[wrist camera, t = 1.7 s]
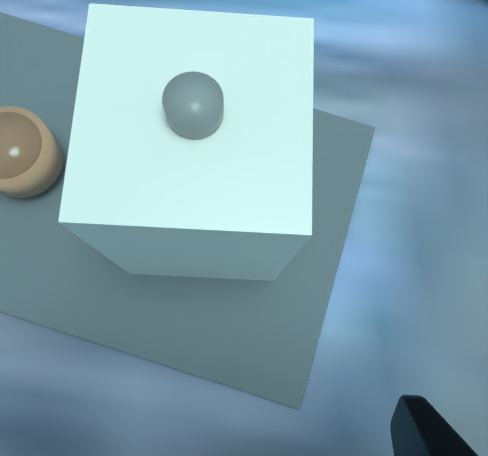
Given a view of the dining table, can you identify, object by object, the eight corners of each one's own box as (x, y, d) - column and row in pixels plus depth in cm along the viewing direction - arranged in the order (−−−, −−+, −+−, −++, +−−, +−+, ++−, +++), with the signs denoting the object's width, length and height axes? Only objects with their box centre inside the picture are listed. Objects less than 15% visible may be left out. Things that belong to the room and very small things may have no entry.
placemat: (-166, 256, 21) (-172, 255, 21) (-30, 6, 25) (-33, 2, 24) (298, 408, 21) (299, 409, 20) (373, 130, 24) (375, 127, 24)
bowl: (3, 214, 22) (-27, 197, 19) (-17, 146, 22) (-49, 121, 20) (78, 187, 22) (58, 167, 20) (56, 121, 23) (34, 94, 20)
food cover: (273, 281, 22) (317, 228, 12) (129, 273, 21) (46, 213, 11) (277, 147, 23) (319, -1, 13) (143, 139, 23) (81, -17, 13)
